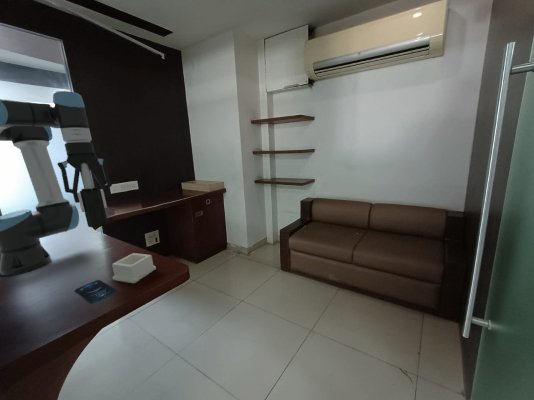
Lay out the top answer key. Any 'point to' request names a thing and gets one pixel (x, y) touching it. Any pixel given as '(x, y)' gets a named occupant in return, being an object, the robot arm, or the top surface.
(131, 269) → the socket
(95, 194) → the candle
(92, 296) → the smartphone
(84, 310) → the top surface
